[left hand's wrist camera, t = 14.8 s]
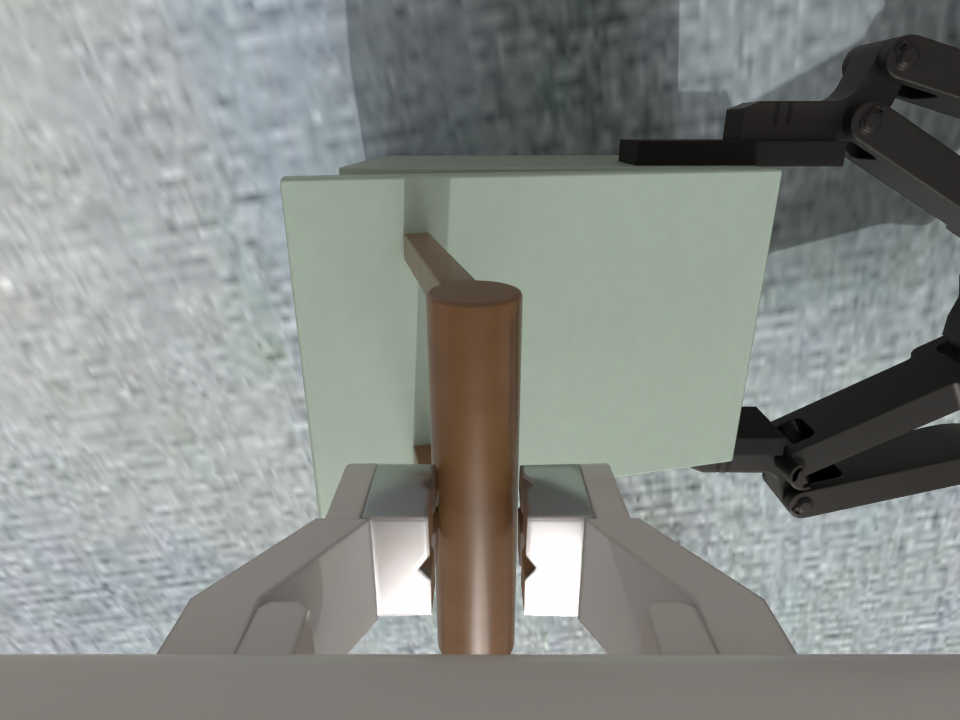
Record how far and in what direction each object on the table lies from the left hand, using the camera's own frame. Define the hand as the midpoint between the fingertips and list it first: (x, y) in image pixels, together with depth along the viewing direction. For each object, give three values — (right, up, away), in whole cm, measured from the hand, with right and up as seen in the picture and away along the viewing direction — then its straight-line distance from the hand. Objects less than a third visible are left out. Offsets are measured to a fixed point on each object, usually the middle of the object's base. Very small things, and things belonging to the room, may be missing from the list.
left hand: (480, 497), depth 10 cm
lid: (+2, +3, +8) cm, 9 cm away
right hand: (+5, +4, +12) cm, 13 cm away
